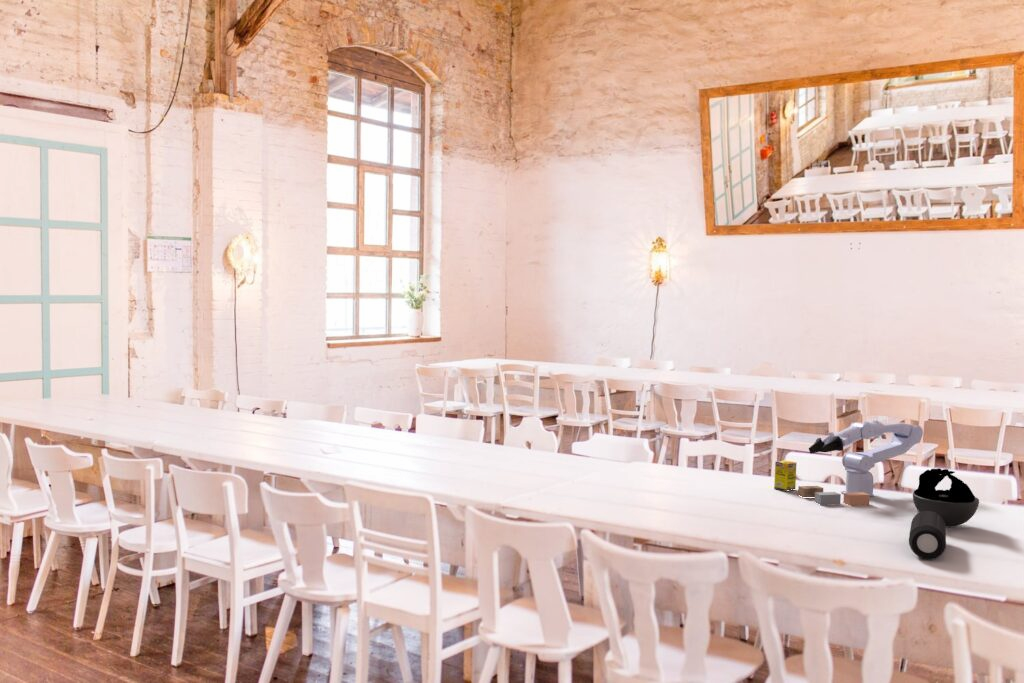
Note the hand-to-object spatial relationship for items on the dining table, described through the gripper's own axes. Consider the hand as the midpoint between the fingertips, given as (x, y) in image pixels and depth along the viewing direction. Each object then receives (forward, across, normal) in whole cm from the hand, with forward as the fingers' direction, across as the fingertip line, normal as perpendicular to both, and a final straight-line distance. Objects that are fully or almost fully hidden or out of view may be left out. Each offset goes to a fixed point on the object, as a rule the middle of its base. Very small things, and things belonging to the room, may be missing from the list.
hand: (816, 450), depth 346 cm
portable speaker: (+23, +61, +28) cm, 71 cm away
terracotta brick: (-3, +7, +22) cm, 24 cm away
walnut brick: (+5, -7, +17) cm, 19 cm away
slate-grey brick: (+7, +4, +19) cm, 20 cm away
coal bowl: (-6, +41, +31) cm, 52 cm away
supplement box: (+5, -20, +14) cm, 25 cm away
